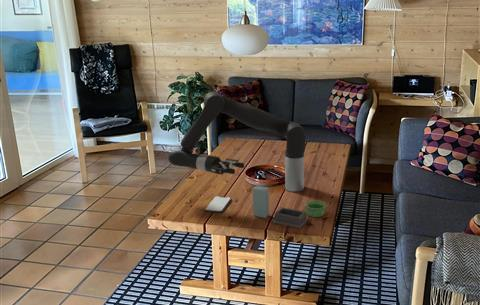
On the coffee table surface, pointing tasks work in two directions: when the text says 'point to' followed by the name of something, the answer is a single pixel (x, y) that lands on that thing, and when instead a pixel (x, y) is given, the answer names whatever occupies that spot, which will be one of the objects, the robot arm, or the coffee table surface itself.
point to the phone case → (218, 204)
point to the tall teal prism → (261, 201)
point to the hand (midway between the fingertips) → (239, 168)
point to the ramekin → (315, 208)
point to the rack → (290, 217)
